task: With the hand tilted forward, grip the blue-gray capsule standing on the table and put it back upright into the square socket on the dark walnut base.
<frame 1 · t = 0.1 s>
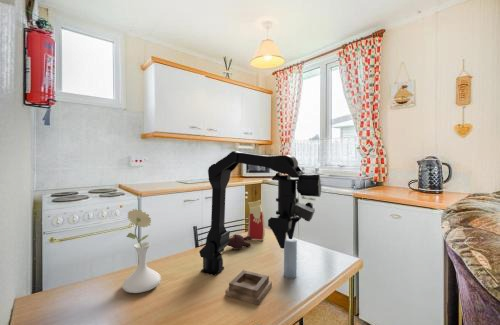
hand: (286, 243, 76), 15 cm above the table, tool pointing down, fingers open, 9 cm apart
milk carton: (255, 238, 124), on the table
dark red lobed figurine: (236, 249, 109), on the table
socket base: (249, 290, 75), on the table
flower in vase: (140, 286, 77), on the table
blue-gray capsule: (290, 275, 85), on the table
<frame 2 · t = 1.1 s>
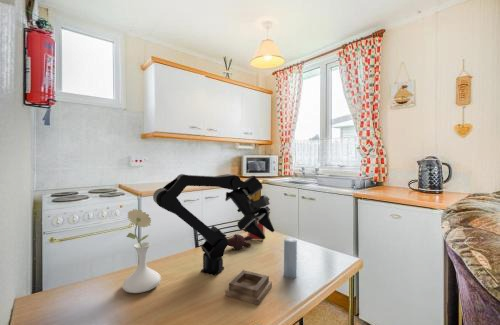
hand: (269, 234, 88), 13 cm above the table, tool tilted 45°, fingers open, 9 cm apart
nothing on the table moved.
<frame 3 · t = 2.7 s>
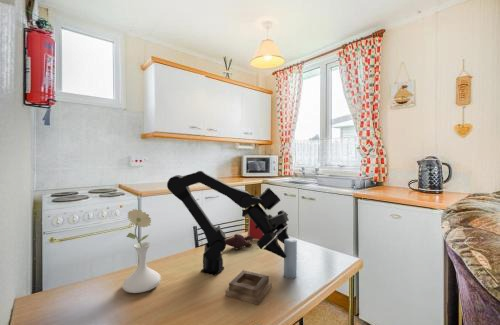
hand: (289, 252, 85), 8 cm above the table, tool tilted 45°, fingers open, 9 cm apart
nothing on the table moved.
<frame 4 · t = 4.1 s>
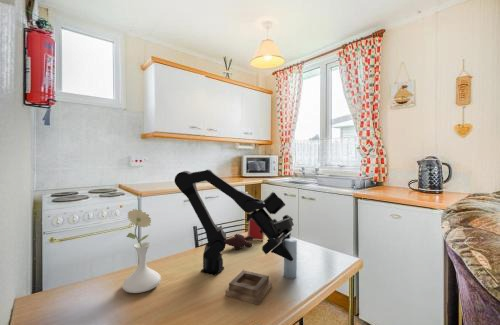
hand: (294, 257, 84), 7 cm above the table, tool tilted 45°, fingers closed on blue-gray capsule, 4 cm apart
blue-gray capsule: (290, 275, 85), on the table, touching gripper
everything else where it was.
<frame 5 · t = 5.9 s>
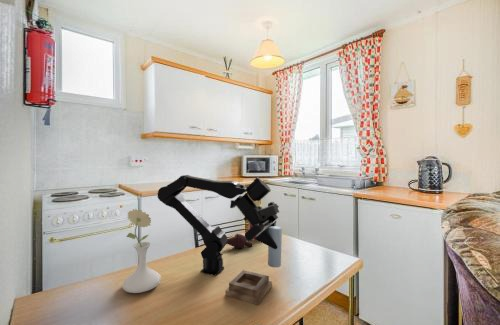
hand: (278, 246, 80), 12 cm above the table, tool tilted 45°, fingers closed on blue-gray capsule, 4 cm apart
blue-gray capsule: (274, 264, 81), point 6 cm above the table, touching gripper
when the fingers open (10 cm above the table, at t = 7.8 s): blue-gray capsule drops 1 cm, resting on socket base.
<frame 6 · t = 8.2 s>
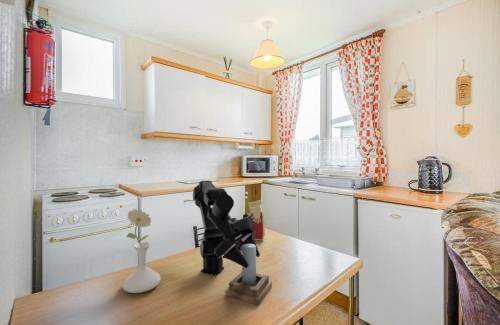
hand: (253, 261, 74), 10 cm above the table, tool tilted 45°, fingers open, 8 cm apart
blue-gray capsule: (249, 285, 75), point 2 cm above the table, touching socket base
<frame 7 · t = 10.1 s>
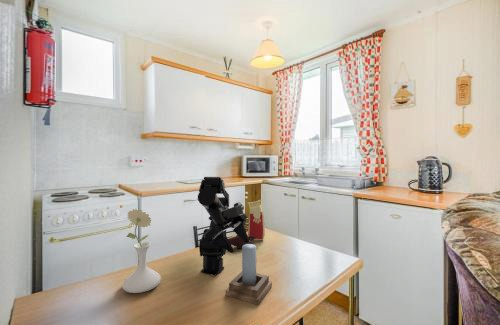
hand: (241, 247, 80), 12 cm above the table, tool tilted 40°, fingers open, 9 cm apart
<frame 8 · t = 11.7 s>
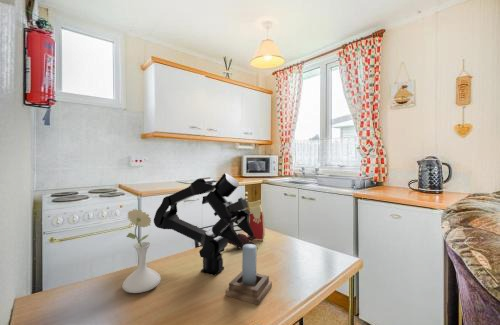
hand: (247, 240, 82), 14 cm above the table, tool tilted 45°, fingers open, 9 cm apart
at the end: blue-gray capsule 0.1 cm off-centre on the socket base, point 1.5 cm above the socket base's base; blue-gray capsule tilted 1°; the gripper is holding nothing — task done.
